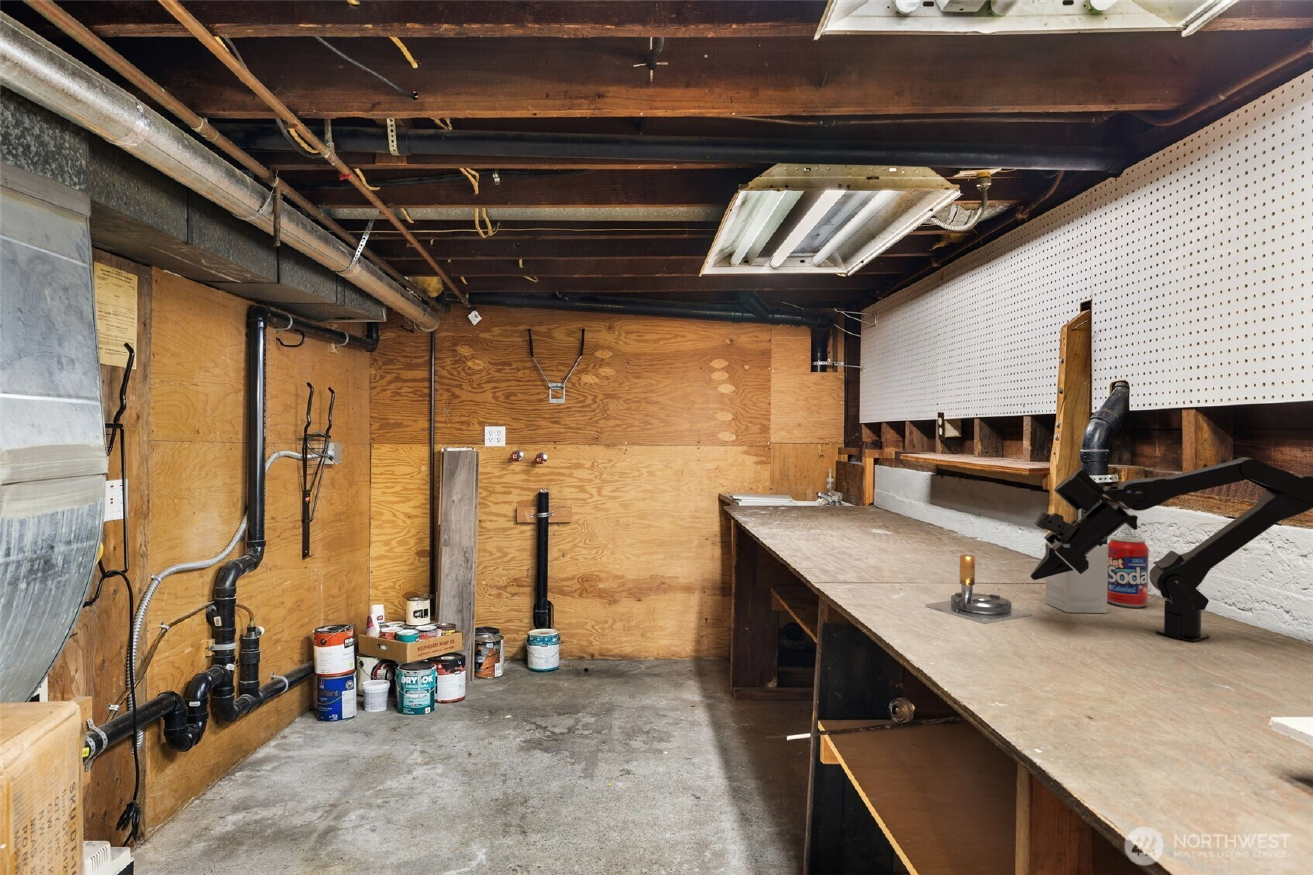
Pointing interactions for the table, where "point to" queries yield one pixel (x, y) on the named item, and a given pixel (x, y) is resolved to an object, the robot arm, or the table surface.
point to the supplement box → (1081, 585)
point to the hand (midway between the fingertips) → (1032, 578)
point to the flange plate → (977, 617)
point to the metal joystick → (977, 601)
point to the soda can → (1127, 572)
